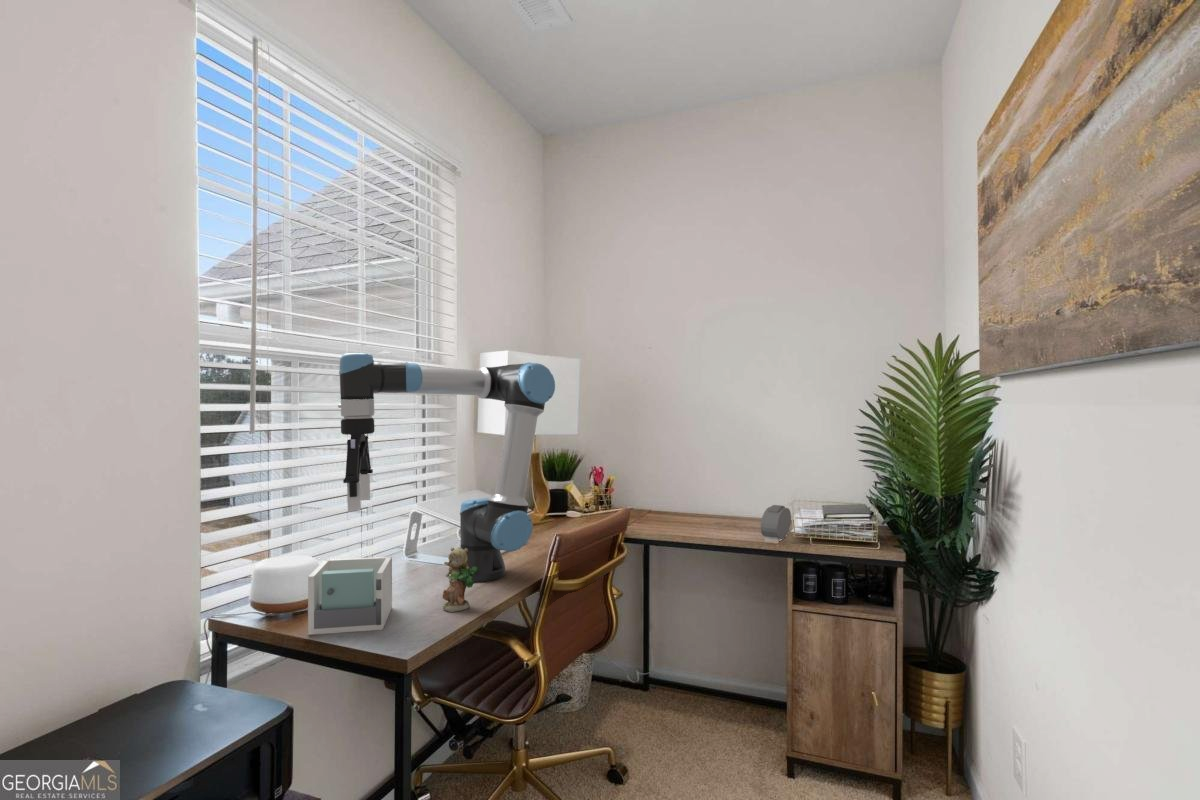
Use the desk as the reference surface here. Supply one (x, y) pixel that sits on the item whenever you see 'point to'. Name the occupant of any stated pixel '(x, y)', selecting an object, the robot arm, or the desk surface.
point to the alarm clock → (775, 523)
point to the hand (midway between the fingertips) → (359, 505)
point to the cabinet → (350, 617)
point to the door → (347, 589)
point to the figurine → (458, 580)
